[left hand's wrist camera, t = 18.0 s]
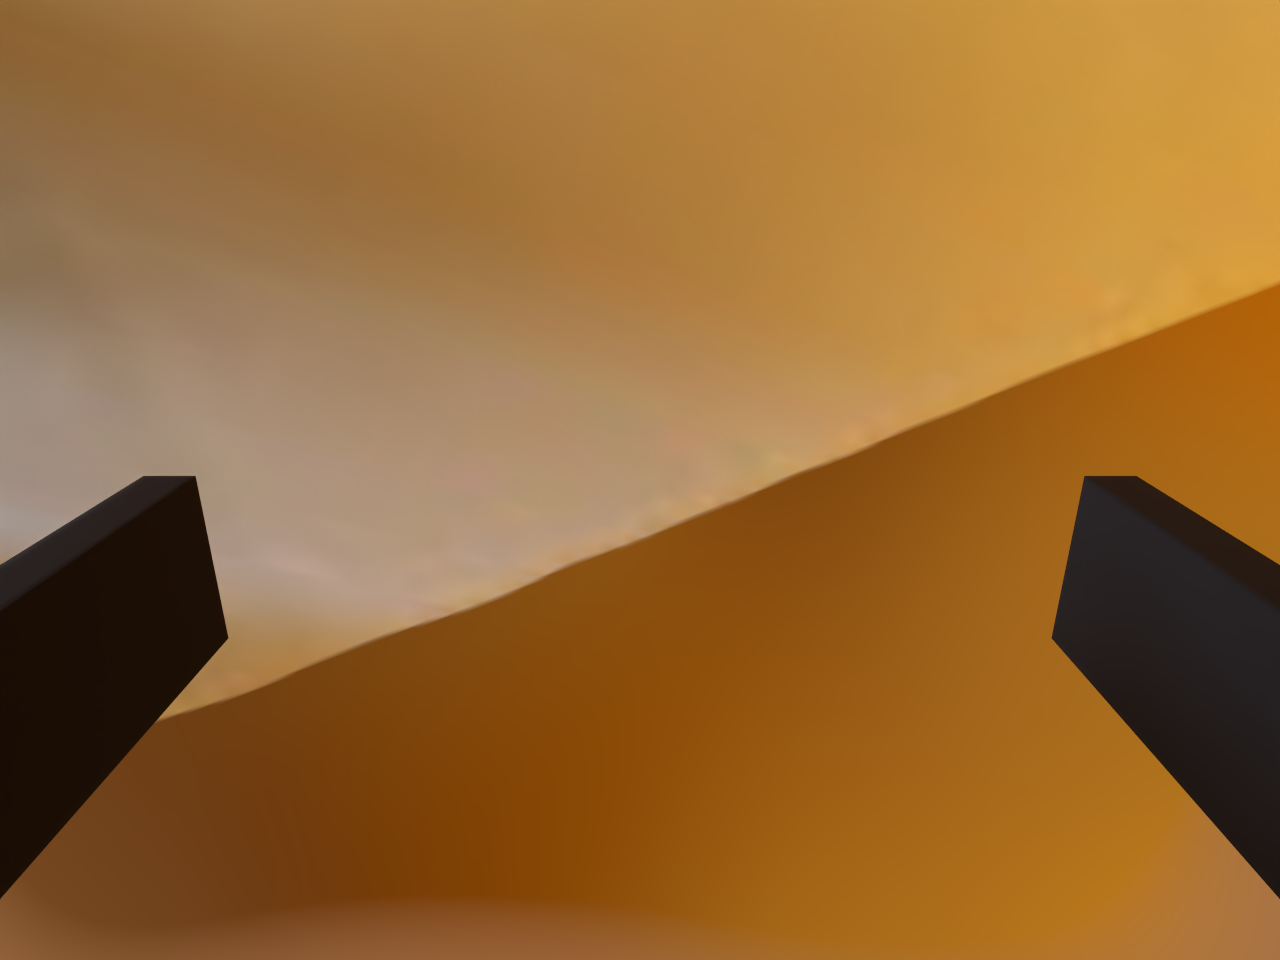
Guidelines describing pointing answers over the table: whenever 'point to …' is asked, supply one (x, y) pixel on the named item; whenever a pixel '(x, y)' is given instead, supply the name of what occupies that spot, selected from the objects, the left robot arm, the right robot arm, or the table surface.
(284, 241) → the table surface
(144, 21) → the table surface
